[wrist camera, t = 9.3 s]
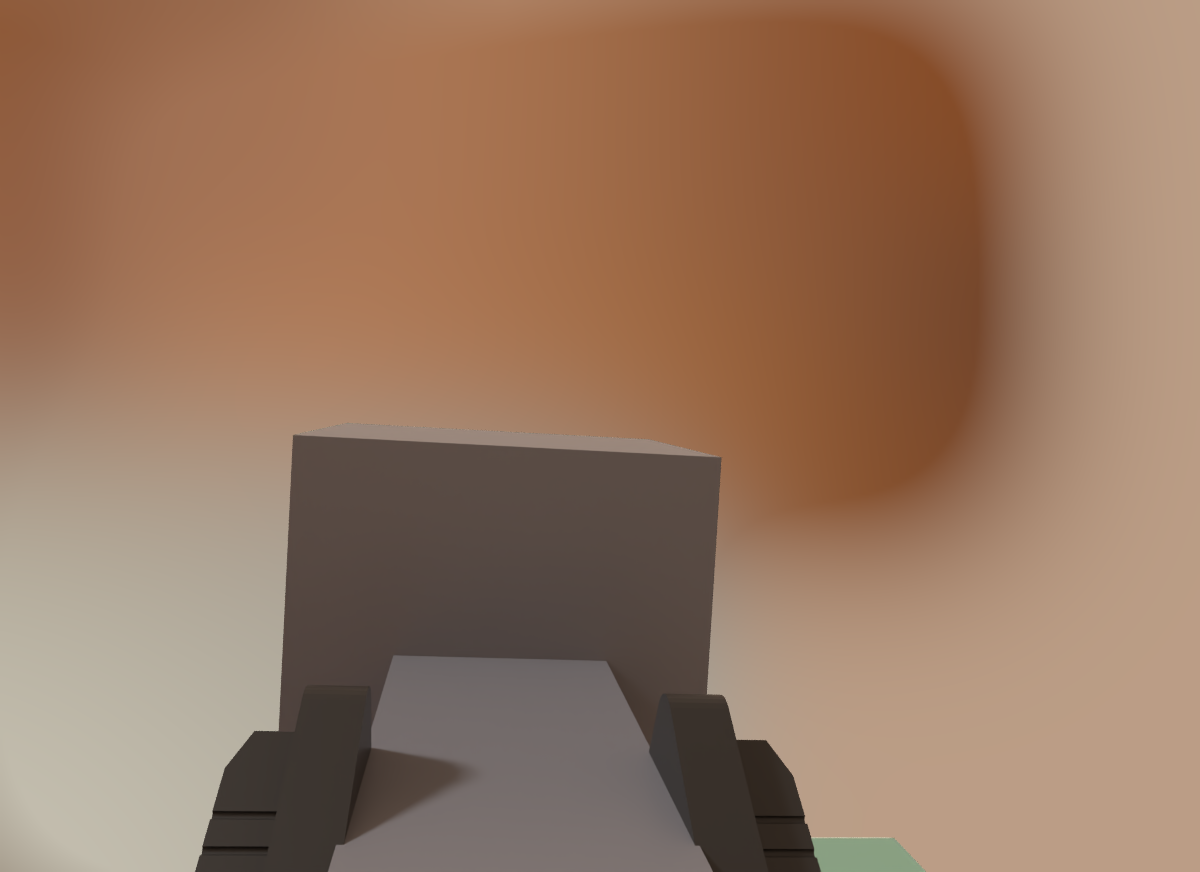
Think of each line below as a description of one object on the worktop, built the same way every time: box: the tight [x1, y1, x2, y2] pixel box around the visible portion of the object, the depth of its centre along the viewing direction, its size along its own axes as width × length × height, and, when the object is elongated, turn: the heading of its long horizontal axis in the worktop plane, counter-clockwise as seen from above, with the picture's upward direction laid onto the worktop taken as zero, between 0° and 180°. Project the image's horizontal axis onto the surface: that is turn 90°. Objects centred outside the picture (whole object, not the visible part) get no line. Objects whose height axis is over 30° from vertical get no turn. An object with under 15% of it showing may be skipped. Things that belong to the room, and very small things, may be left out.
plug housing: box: [279, 423, 721, 872], centre depth 16 cm, size 7×16×6 cm, turn 7°
